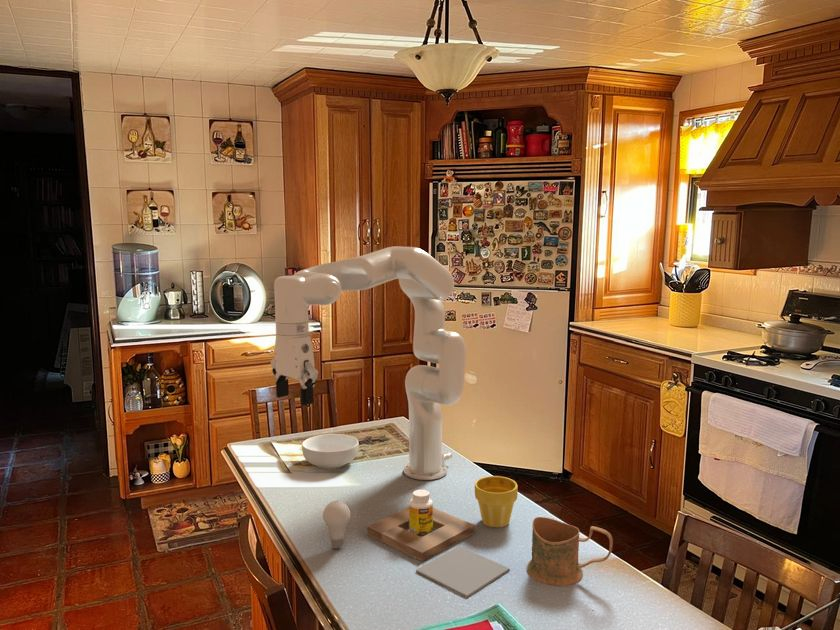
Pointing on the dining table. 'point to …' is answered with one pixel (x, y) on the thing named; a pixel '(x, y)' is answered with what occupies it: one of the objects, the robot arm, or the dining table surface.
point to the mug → (558, 552)
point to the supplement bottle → (421, 513)
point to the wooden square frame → (414, 545)
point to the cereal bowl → (330, 450)
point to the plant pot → (496, 499)
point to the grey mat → (463, 571)
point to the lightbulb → (336, 521)
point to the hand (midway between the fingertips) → (294, 400)
